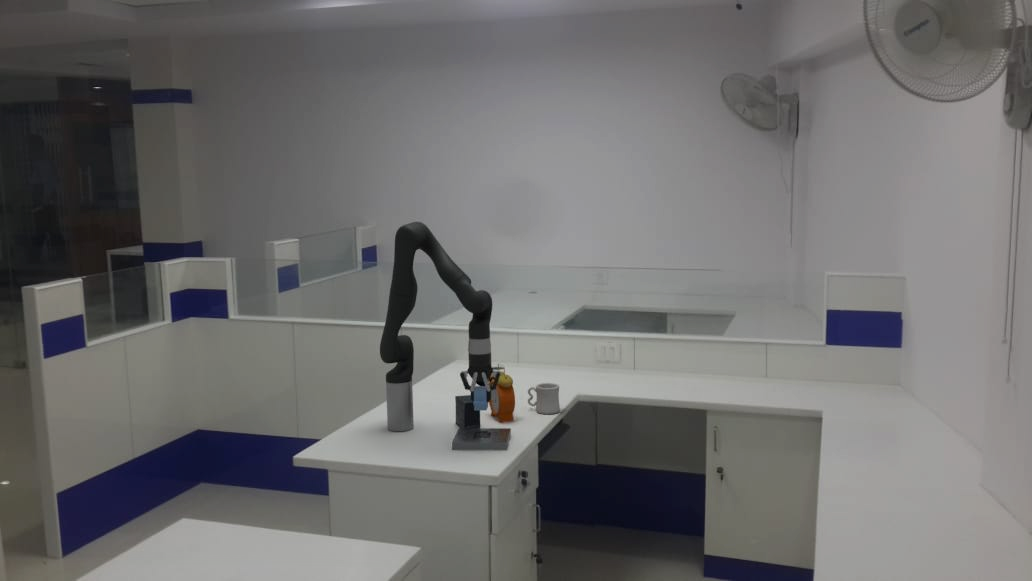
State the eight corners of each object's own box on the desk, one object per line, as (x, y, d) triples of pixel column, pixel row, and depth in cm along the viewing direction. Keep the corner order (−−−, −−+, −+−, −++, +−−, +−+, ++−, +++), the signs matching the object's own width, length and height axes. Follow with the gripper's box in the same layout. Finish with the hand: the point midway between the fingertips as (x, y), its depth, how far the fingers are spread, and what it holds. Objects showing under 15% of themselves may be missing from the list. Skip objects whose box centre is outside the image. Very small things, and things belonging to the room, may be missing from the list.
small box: (481, 429, 304) (481, 400, 302) (464, 432, 301) (463, 402, 300) (472, 422, 313) (471, 394, 312) (455, 424, 311) (454, 395, 310)
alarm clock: (487, 414, 323) (486, 362, 320) (503, 413, 325) (502, 360, 322) (500, 424, 310) (499, 369, 308) (516, 422, 312) (515, 368, 310)
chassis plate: (458, 435, 298) (458, 428, 297) (510, 435, 296) (510, 428, 296) (452, 449, 282) (451, 442, 282) (506, 450, 281) (506, 442, 280)
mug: (562, 409, 329) (561, 383, 328) (556, 415, 320) (556, 389, 319) (530, 407, 332) (530, 381, 331) (524, 413, 324) (524, 387, 322)
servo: (476, 404, 292) (476, 384, 291) (488, 404, 292) (488, 384, 291) (473, 412, 283) (473, 391, 282) (485, 412, 283) (485, 391, 282)
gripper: (502, 348, 288) (503, 399, 290) (460, 349, 289) (461, 399, 291) (500, 353, 281) (501, 404, 283) (456, 353, 282) (458, 404, 284)
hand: (481, 401), depth 287 cm, fingers closed on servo, 4 cm apart
